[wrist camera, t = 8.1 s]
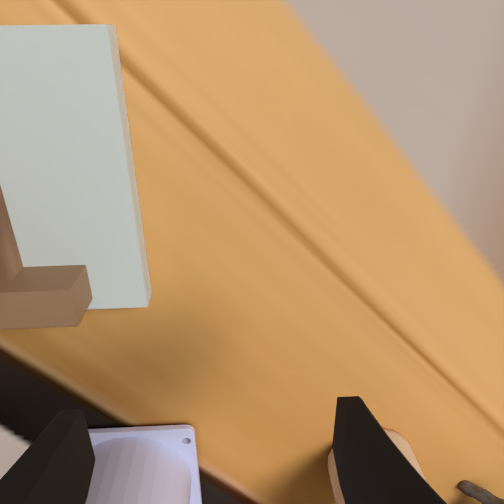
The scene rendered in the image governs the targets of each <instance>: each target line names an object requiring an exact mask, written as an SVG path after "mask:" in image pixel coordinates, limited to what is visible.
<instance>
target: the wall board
mask: <svg viewBox="0 0 504 504" xmlns="http://www.w3.org/2000/svg"><path fill="white" fill-rule="evenodd" d="M0 186H1V189H2V193H3V196H4V200H5V204H6V207H7V211H8V214H9V218H10V221H11V225H12V228H13V232H14V235H15V239H16V242H17V246H18V249H19V253H20V257H21V260H22V264H23V268H22V269H21V270H20V271H19V272H18V273H17V275H16V276H15V277H14V278H13V279H12V280H11V281H10V282H9V283H8V285H7V286H6V287H5V288H4V289H3V290H2V291H1V292H0V329H24V328H50V327H76V326H79V324H80V322H81V320H82V318H83V316H84V314H85V312H86V311H87V309H111V308H138V307H148V305H149V301H150V298H151V295H152V292H151V284H150V277H149V270H148V262H147V255H146V248H145V240H144V233H143V226H142V218H141V211H140V204H139V196H138V189H137V182H136V174H135V167H134V160H133V152H132V145H131V138H130V130H129V123H128V116H127V108H126V101H125V93H124V86H123V79H122V71H121V64H120V57H119V49H118V42H117V35H116V27H115V25H109V24H92V25H9V26H0Z"/></svg>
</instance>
